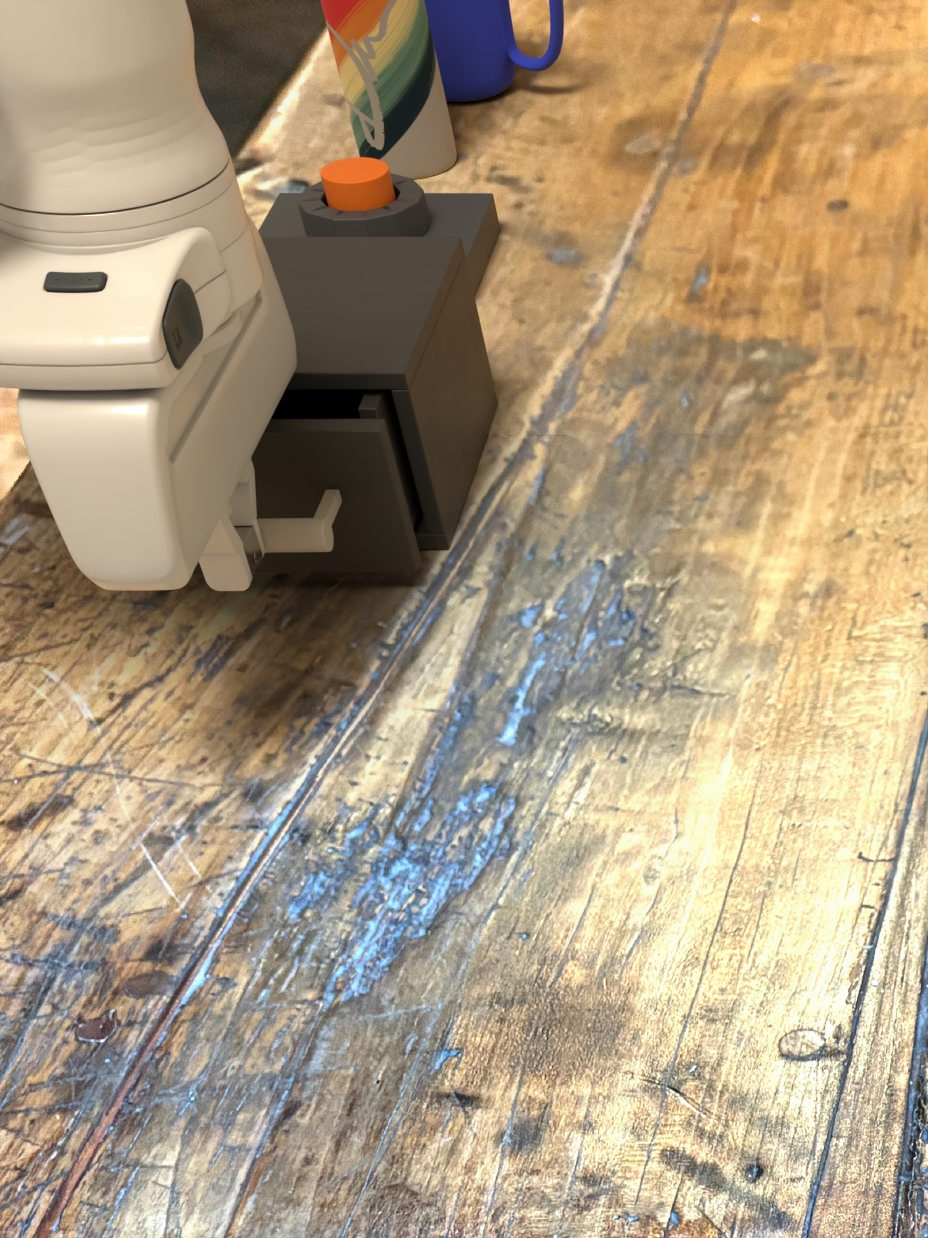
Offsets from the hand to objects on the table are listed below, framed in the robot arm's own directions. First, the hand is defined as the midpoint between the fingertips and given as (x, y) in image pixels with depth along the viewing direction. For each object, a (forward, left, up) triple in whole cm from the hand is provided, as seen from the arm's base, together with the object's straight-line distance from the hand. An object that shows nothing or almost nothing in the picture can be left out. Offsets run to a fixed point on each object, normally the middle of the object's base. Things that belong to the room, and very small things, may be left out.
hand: (239, 574), depth 95 cm
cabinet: (0, +17, -4) cm, 17 cm away
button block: (-3, +41, -4) cm, 41 cm away
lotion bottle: (-4, +56, -4) cm, 56 cm away
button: (-3, +41, 0) cm, 41 cm away
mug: (-1, +68, -4) cm, 68 cm away
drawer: (0, +10, -3) cm, 11 cm away
